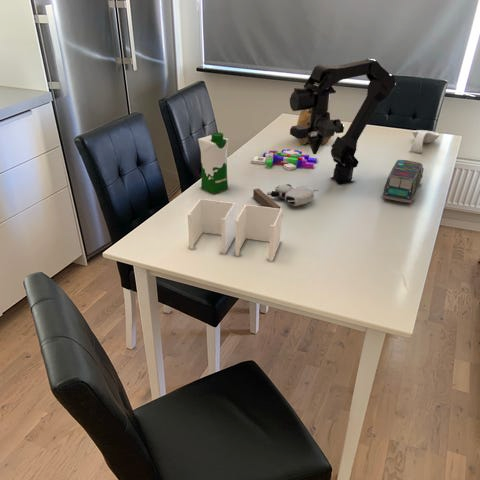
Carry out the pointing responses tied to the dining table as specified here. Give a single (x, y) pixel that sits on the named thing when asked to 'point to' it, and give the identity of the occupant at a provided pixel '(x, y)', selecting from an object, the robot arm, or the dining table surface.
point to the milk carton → (214, 162)
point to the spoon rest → (422, 139)
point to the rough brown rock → (303, 121)
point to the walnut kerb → (264, 199)
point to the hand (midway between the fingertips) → (314, 154)
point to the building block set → (286, 159)
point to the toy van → (403, 181)
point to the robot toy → (293, 194)
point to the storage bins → (223, 223)
